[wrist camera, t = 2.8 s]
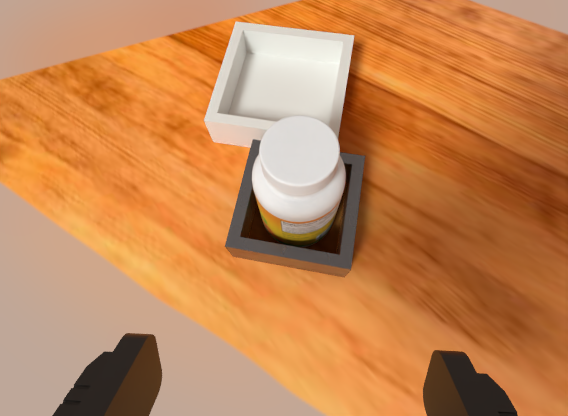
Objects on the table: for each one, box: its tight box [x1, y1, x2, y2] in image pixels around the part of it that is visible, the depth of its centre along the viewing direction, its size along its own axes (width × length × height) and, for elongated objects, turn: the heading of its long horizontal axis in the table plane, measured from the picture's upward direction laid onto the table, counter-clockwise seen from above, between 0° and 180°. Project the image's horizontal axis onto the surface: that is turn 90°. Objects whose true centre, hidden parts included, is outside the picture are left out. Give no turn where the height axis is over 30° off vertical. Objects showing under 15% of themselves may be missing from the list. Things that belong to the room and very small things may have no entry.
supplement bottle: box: [252, 115, 346, 247], centre depth 21 cm, size 5×5×10 cm
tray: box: [204, 22, 354, 148], centre depth 28 cm, size 10×10×3 cm
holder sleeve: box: [225, 139, 365, 277], centre depth 24 cm, size 8×8×3 cm
